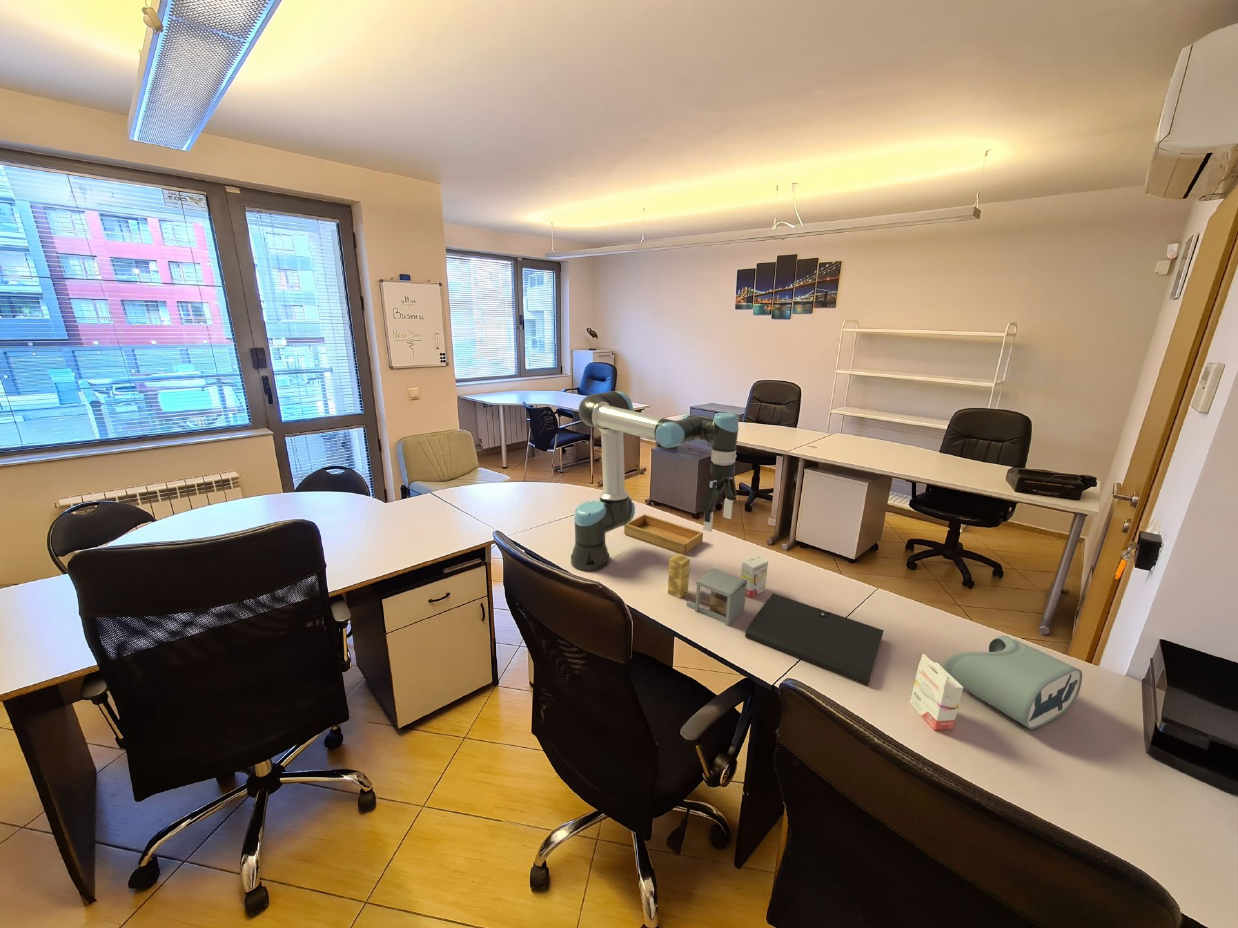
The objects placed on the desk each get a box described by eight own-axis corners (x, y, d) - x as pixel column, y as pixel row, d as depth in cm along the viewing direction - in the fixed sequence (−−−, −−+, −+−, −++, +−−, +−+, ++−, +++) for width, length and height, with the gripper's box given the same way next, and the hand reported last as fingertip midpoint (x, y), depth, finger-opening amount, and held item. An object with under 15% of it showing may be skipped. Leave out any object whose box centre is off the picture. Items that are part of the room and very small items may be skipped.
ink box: (749, 598, 158) (753, 567, 154) (738, 592, 162) (741, 561, 158) (765, 590, 163) (769, 560, 159) (754, 584, 166) (757, 554, 163)
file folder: (884, 628, 137) (870, 676, 118) (881, 640, 138) (867, 689, 119) (772, 591, 156) (745, 628, 137) (771, 602, 157) (744, 640, 138)
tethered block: (666, 593, 160) (668, 559, 156) (676, 586, 164) (678, 553, 161) (726, 619, 146) (729, 582, 142) (734, 611, 150) (738, 575, 147)
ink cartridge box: (954, 729, 107) (968, 676, 103) (934, 731, 106) (947, 678, 102) (927, 701, 115) (939, 651, 111) (908, 702, 114) (920, 651, 110)
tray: (702, 543, 199) (703, 531, 197) (684, 556, 187) (685, 543, 186) (643, 525, 217) (643, 513, 215) (623, 535, 205) (624, 523, 204)
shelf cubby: (685, 606, 153) (687, 577, 149) (702, 593, 161) (704, 564, 158) (727, 626, 143) (730, 594, 140) (744, 610, 151) (747, 580, 148)
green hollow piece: (1022, 738, 104) (1034, 689, 101) (937, 684, 121) (945, 641, 118) (1075, 708, 113) (1087, 663, 110) (988, 662, 130) (997, 621, 127)
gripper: (714, 473, 136) (709, 539, 142) (750, 456, 154) (744, 515, 160) (692, 468, 140) (688, 532, 146) (730, 452, 159) (724, 510, 165)
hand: (717, 523), depth 153 cm, fingers open, 13 cm apart
